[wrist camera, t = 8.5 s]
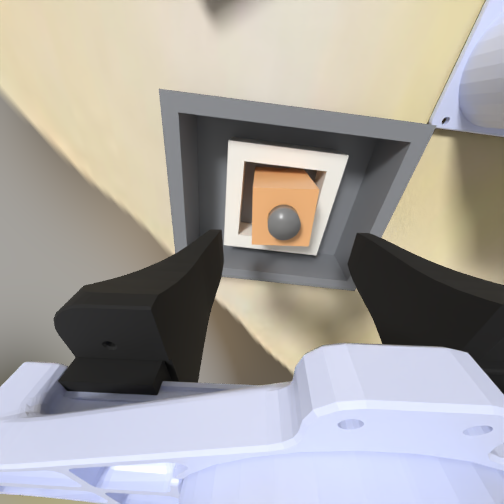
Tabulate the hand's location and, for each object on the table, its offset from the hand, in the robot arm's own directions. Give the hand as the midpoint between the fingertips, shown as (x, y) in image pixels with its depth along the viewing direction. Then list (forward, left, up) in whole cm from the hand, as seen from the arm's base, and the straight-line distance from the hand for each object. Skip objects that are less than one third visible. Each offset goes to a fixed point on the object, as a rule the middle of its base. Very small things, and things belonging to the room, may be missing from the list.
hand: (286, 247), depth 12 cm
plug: (0, 0, -9) cm, 9 cm away
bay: (0, 0, -10) cm, 10 cm away
